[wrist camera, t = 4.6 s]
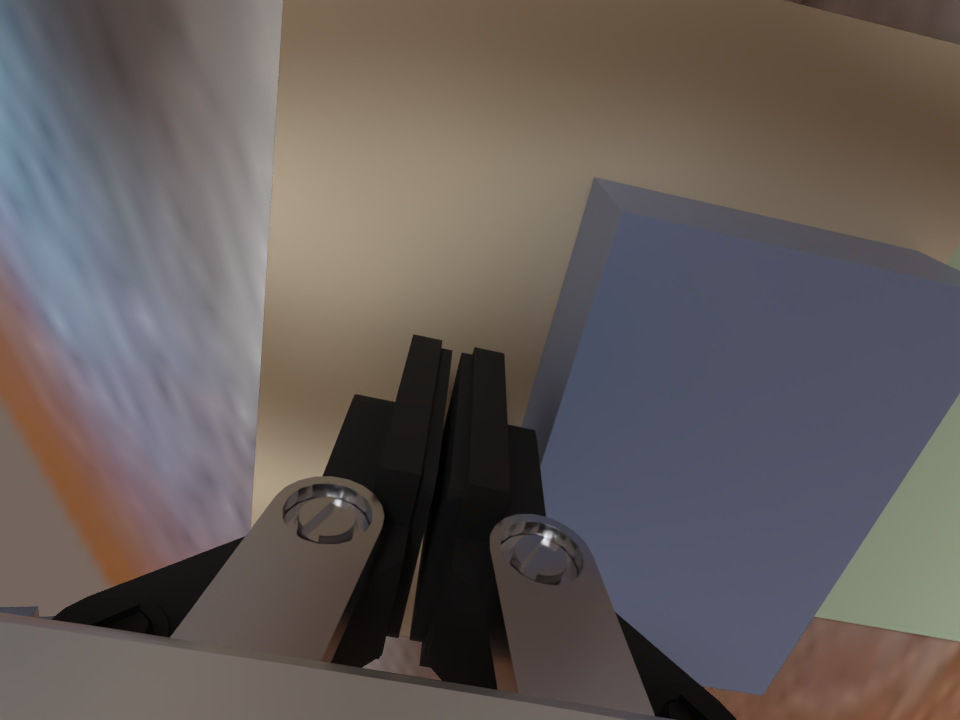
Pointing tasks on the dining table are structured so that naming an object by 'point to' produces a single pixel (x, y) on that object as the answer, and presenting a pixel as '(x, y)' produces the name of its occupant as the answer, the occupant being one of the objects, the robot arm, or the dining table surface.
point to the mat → (911, 547)
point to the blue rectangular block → (733, 414)
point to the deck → (554, 171)
